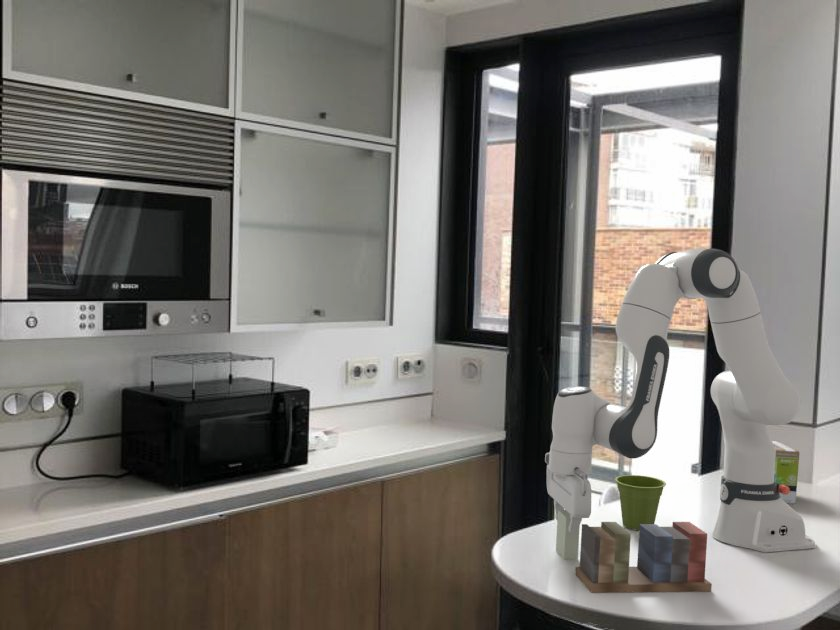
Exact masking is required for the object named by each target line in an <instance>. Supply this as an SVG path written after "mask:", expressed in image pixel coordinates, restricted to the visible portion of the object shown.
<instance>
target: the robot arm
mask: <svg viewBox="0 0 840 630" xmlns="http://www.w3.org/2000/svg"><path fill="white" fill-rule="evenodd" d="M681 299H688V300H697V299H703V301H705V303H706V305H707V311H708V316H709V320H710V325H711V331H712V334H713V339H714V343H715V347H716V351H717V353H718V356H719V358H720V359H721V360H722V361H723V362H724V363H725V364H726V366H727V368H728V370H724V371H722V372H720V373H718V375H716V376H715V377H714V379H713V381H712V383H711V386H710V397H711V399H712V401H713V404H714V405H715V406H716V409H717V412H718V415H719V418H720V423H721V428H722V429H721V430H722V433H723V434H722V435H723V441H724V451H723V452H724V456H723V457H724V458H723V459H724V460H723V473H722V474H723V475H721V478H720V479H721V480H720V489H719V500H720V506H719V510H718V515H717V518H716V522H715V526H714V529H713V531H712V533H711V534H712V537H713V538H715V540H717V541H720V542H723V543H725V544H727V545H732V546H736V547H741V548H746V549H751V550H755V551H758V552H762V553H771V552H783V551H794V550H795V551H797V550H807V549H808V550H809V549H815V548H816V542H815V540H814V539H813V538H811V537H810V536H808V535H807V534H806V527H805V522H804V519H803V517H802V516H801V515H800V514H799V513H798V512H797V511H796V510H795V509H794V508H792V507H791V506H790V505H789V503H785V502H784V501H783V500H782V499H781V498H780V494H779V492H780V493H782V494H784V495H788V493H790V492H789V491H790V490H788V489H790V488H789V487H788V486H785V485H779V484H778V483H776V482H775V481H774V472H775V457H776V450H775V446H774V444H773V442H772V441H773V440H772V439H771V437H770V435H769V432H768V429H767V426H781V425H787V424H789V423H791V422H792V421H794V420H795V419H796V417H797V416H798V415H799V413H800V412H799V411H800V409H801V405H802V403H801V401H802V400H801V396H800V392H799V391H798V389H797V388H796V387H795V386H793V384H792V383H791V382H790V381H789V379H788V378H787V377H786V375H785V373H784V372H783V370H782V368H781V367H780V365H779V364H778V361H777V359H776V357H775V355H774V354H773V351H772V349H771V347H770V344H769V341H768V336H767V334H766V330H765V325H764V321H763V316H762V312H761V308H760V303H759V300H758V297H757V294H756V291H755V289H754V287H753V283H752V282H751V279H750V277H749V275H748V274H747V273H746V272H745V271H743V270H741V269H740V268H739V267H738V264H737V262H736V261H735V259H734V258H733V256H732V255H731V254H730V253H729V252H727V251H724V250H722V249H717V248H690V249H686V250H682V251H681V250H680V251H671V252H669V253H666V254H665V255H663V256H660V258H658V260H656V262H655V263H648V264H645V265H642V266H641V267H640V268H639V270H637V272H636V274H635V275H634V277H633V278H632V281H631V283H630V284H629V286H628V288H627V290H626V293H625V295H624V297H623V301H622V303H621V306H620V309H619V311H618V314H617V317H616V322H615V334H616V336H617V338H618V340H619V342H620V343H621V344H622V346H623V347H624V348H625V349H626V350H627V351H628V352H630V353H631V354H632V356H633V357H634V359H635V361H636V374H635V378H634V384H633V387H632V392H631V396H630V397H631V398H630V401H629V403H628V405H627V406H624V405H623V406H622V405H621V404H620V405H619V404H617V403H613V402H610V401H608V400H606V399H603V397H601V396H599V395H598V394H596V393H595V392H594V391H593V389H592V388H590V387H587V386H568V387H565V388H563V389H561V390H559V392H558V393H557V394H556V397H555V400H554V403H553V410H552V420H551V421H552V422H551V430H552V441H551V444H550V450H549V452H546V453H545V455H544V456H545V457H544V462H545V463H546V464H547V465H546V490H547V494H548V495H549V496H550V497H551V498H552V499H553V505H554V512H555V516H554V518H555V520H556V521H557V517H558V510H566V511H567V512H569V513H570V518H571V521H570V524H569V526H568V528H569V529H568V532H569V533H570V534H571V535H577V534H578V533H579V534H580V528H579V526H580V525H581V523H582V520H583V519H588V518H590V516H591V514H592V486H591V485H592V484H591V482H590V481H589V479H587V478H586V477H587V476H588V475H590V474H591V473H592V461H593V447H594V446H596V445H597V446H600V447H602V448H605V449H607V450H610V451H614V452H615V453H618V454H619V455H621V456H623V457H626V458H628V459H638V458H641V457H644V456H645V455H647V454H648V452H649V451H650V450H651V449H652V448H653V446H654V445H655V443H656V440H657V435H658V423H659V421H658V419H659V411H660V405H661V399H662V397H663V391H664V386H665V382H666V379H667V378H666V377H667V373H668V368H669V367H668V366H669V361H670V347H669V343H668V332H669V331H668V330H669V327H670V323H671V321H672V318H673V316H674V315H673V314H674V312H675V311H674V310H675V307H676V305H677V304H678V302H679V301H680V300H681Z"/></svg>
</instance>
